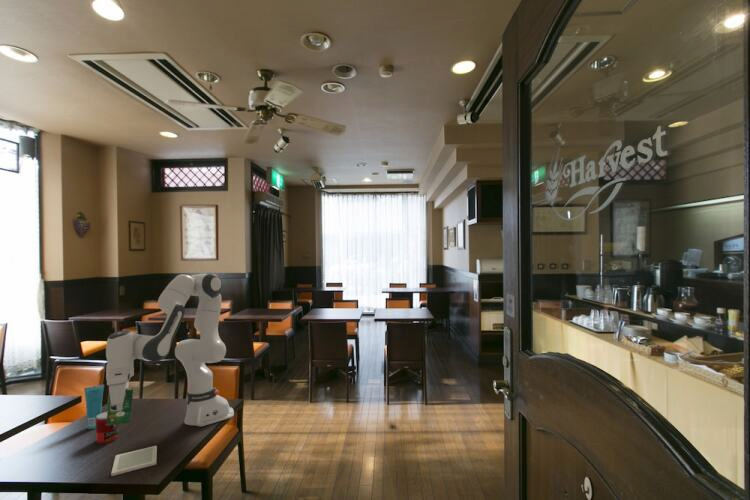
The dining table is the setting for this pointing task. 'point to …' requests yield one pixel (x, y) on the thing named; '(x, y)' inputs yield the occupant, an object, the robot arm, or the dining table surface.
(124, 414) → the coffee box
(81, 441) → the dining table surface
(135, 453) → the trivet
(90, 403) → the tube
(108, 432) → the canned food
